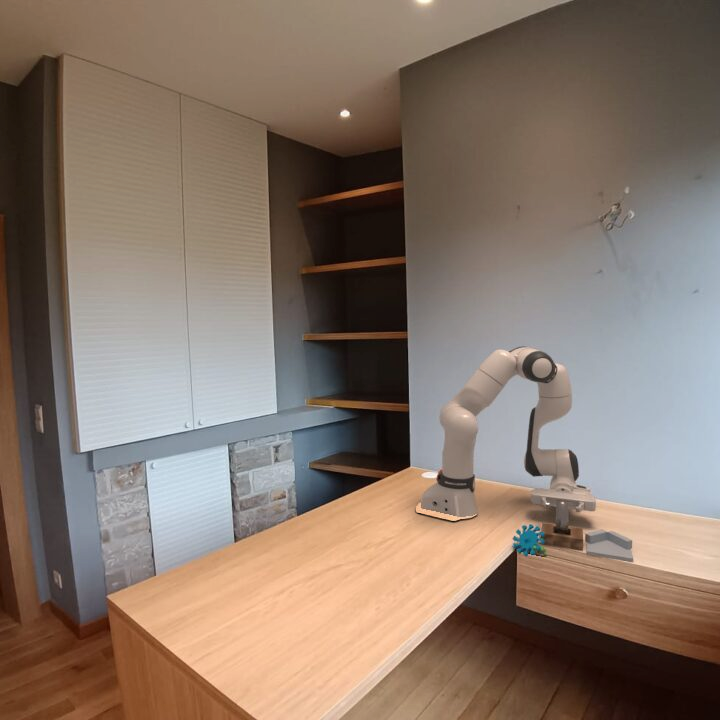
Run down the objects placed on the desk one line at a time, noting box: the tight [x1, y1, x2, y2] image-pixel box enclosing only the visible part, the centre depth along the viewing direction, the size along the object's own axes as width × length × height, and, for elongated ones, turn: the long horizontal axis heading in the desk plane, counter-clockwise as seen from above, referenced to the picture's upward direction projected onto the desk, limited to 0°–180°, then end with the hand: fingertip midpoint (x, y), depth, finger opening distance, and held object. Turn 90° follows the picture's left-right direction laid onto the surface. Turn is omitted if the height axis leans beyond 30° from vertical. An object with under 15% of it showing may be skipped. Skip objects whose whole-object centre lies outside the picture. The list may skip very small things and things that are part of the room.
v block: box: [584, 528, 634, 563], centre depth 145 cm, size 13×12×4 cm
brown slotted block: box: [540, 522, 584, 552], centre depth 150 cm, size 12×8×4 cm, turn 66°
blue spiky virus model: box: [512, 523, 548, 557], centre depth 145 cm, size 11×6×10 cm
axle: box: [555, 499, 570, 535], centre depth 150 cm, size 4×4×13 cm
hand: (562, 508), depth 157 cm, fingers open, 8 cm apart
